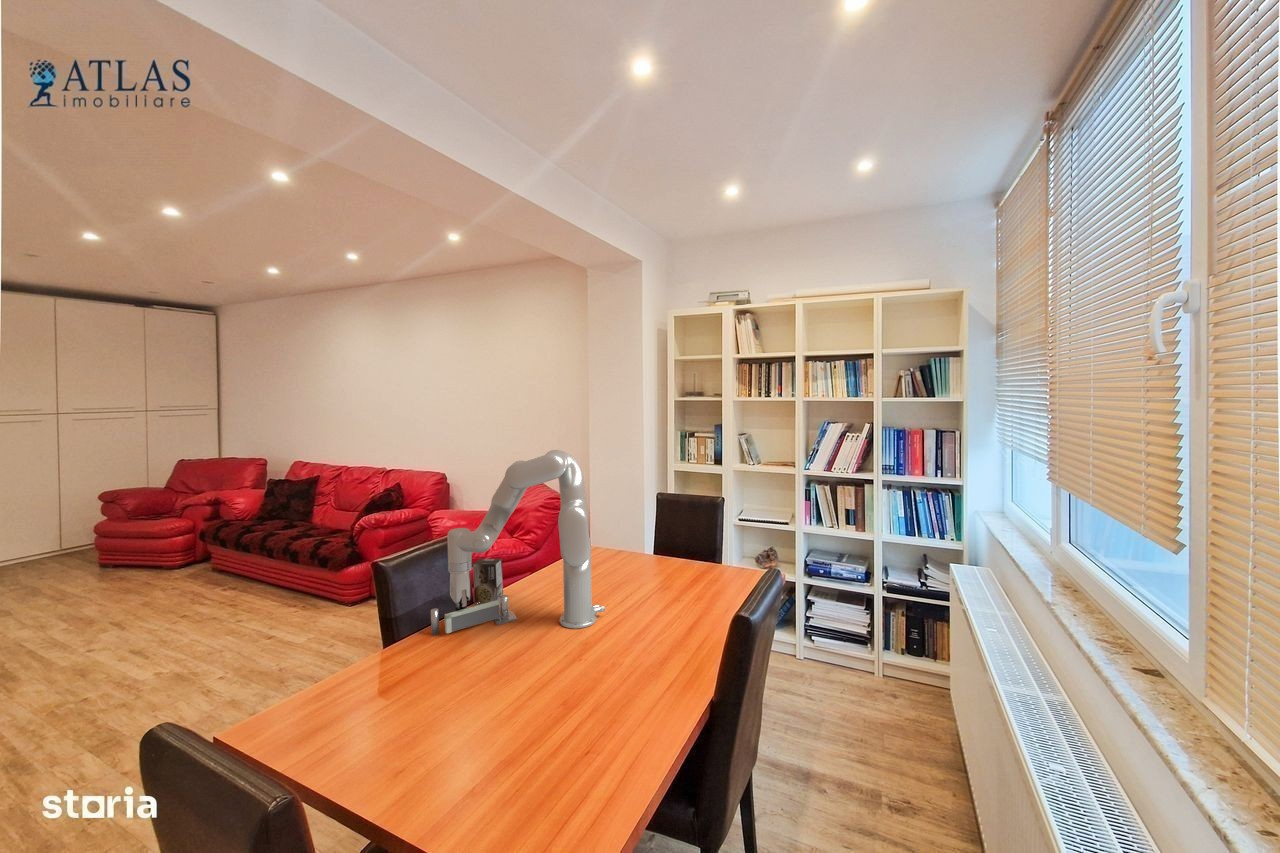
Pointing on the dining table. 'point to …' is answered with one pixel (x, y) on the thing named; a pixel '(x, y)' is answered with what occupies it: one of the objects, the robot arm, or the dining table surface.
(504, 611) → the grey post with base
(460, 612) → the gate
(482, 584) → the coffee box
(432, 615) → the post
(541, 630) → the dining table surface
